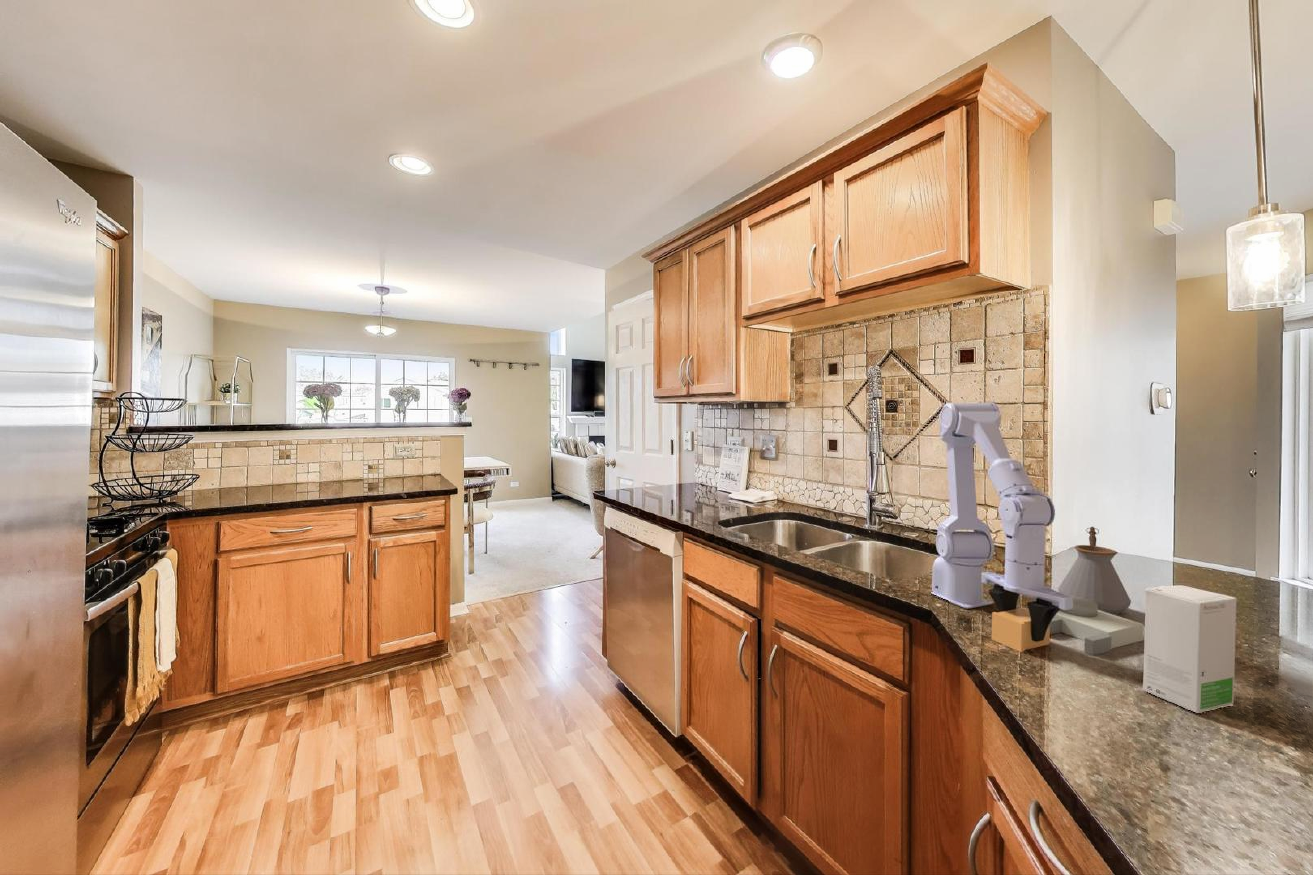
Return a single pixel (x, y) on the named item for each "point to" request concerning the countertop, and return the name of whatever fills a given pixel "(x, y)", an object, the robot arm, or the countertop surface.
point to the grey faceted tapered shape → (1096, 578)
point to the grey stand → (1095, 626)
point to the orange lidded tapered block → (1015, 629)
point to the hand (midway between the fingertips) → (1022, 634)
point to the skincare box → (1190, 647)
